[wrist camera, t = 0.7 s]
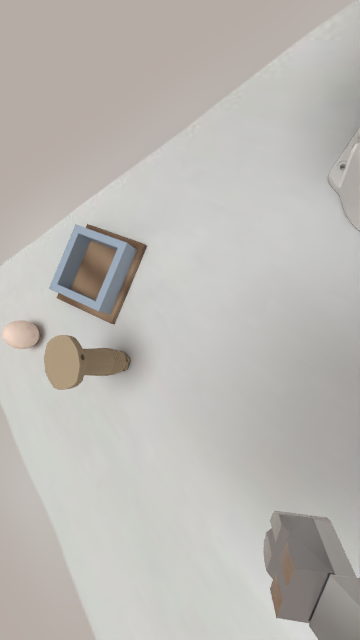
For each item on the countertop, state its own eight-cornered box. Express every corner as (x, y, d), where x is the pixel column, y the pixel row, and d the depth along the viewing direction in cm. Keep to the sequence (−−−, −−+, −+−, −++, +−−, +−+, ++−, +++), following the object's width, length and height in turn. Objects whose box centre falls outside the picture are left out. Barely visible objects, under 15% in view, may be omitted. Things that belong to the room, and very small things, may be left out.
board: (90, 226, 58) (87, 224, 57) (146, 246, 54) (144, 244, 53) (60, 299, 58) (56, 298, 57) (114, 324, 54) (111, 323, 53)
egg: (49, 341, 58) (20, 339, 51) (29, 354, 59) (-2, 353, 52) (41, 318, 59) (11, 312, 53) (21, 330, 60) (-10, 326, 54)
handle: (131, 338, 53) (74, 330, 39) (139, 377, 51) (83, 384, 37) (105, 346, 54) (41, 341, 40) (112, 384, 53) (49, 393, 39)
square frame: (88, 232, 57) (75, 224, 53) (137, 250, 53) (127, 242, 50) (62, 292, 57) (49, 288, 53) (110, 314, 53) (98, 311, 50)
